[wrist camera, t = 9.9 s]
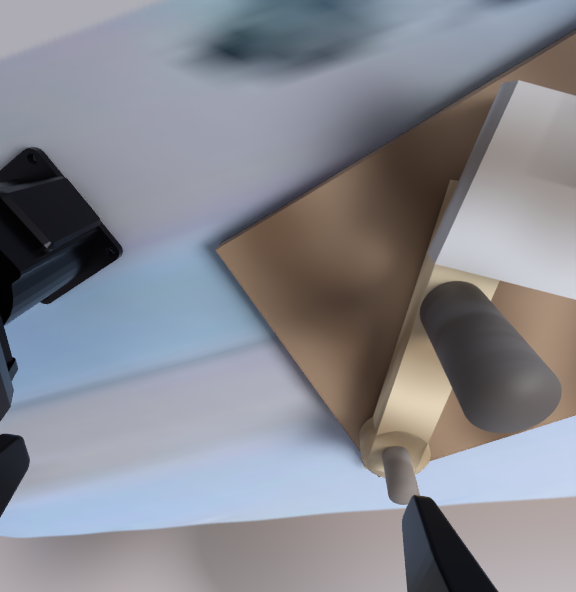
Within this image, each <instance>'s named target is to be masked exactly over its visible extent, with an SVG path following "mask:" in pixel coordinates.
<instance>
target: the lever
mask: <svg viewBox="0 0 576 592" xmlns="http://www.w3.org/2000/svg"><path fill="white" fill-rule="evenodd" d="M458 182H459V181H456V180H450V182H449V185H448V188H447V192H446V195H445V198H444V201H443V204H442V207H441V210H440V213H439V216H438V219H437V222H436V225H435V228H434V231H433V234H432V237H431V240H430V244H429V247H428V250H429V248H430V246H431V243H432V241H433V239H434V236H435V234H436V232H437V230H438V227H439V225H440V223H441V220H442V218H443V216H444V214H445V211H446V209H447V207H448V205H449V202H450V200H451V198H452V195H453V193H454V191H455V189H456V186H457V184H458ZM428 250H427V252H428ZM499 281H500V280H497V279H493V278H489V277H485V276H481V275H477V274H473V273H469V272H465V271H461V270H458V269H454V268H450V267H446V266H442V265H438V264H435V263H434V262H433V260H432V259H431V258H430V256H429V255H428V253H426V256H425V259H424V262H423V265H422V268H421V271H420V274H419V277H418V280H417V283H416V286H415V289H414V292H413V295H412V299H411V302H410V305H409V308H408V311H407V314H406V317H405V320H404V323H403V326H402V329H401V332H400V335H399V338H398V341H397V344H396V347H395V351H394V354H393V357H392V360H391V363H390V366H389V369H388V372H387V375H386V378H385V381H384V384H383V387H382V390H381V393H380V396H379V399H378V403H377V406H376V409H375V412H374V415H373V417H371V418H370V419H368V420H367V421H366V422H365V423H364V424H363V426H362V427H361V429H360V433H359V439H360V448H361V457H362V461H363V463H364V466H365V469H368V470H369V471H371V472H372V473H374V474H376V475H378V476H381V477H385V478H386V483H387V489H388V495H389V498H390V500H391V501H393V502H394V503H397V504H401V505H406V504H408V503H409V501H410V498H411V497H412V496H413V495H420V494H419V490H418V486H417V482H416V478H415V474H417V473H418V472H420V471H421V470H423V469H424V468H425V467H426V466H427V464H428V463H429V461H430V457H431V451H430V447H429V444H428V443H429V440H430V438H431V436H432V433H433V431H434V429H435V427H436V424H437V422H438V420H439V418H440V415H441V413H442V411H443V408H444V406H445V404H446V402H447V399H448V397H449V395H450V393H451V390H452V389H453V391H454V393H455V395H456V398H457V400H458V402H459V404H460V406H461V408H462V410H463V413H464V415H465V416H466V418H467V419H468V420H469V422H471V423H472V424H473V425H474V426H476V427H478V428H480V429H482V430H485V431H488V432H493V433H513V432H519V431H523V430H526V429H529V428H531V427H533V426H535V425H537V424H539V423H541V422H542V421H544V420H545V419H546V418H548V417H549V416H550V415H551V414H552V413H553V412H554V410H555V409H556V408H557V406H558V404H559V402H560V399H561V394H562V388H561V384H560V381H559V379H558V378H557V376H556V375H555V374H554V373H553V372H552V370H551V369H550V368H549V367H548V366H547V365H546V364H545V362H544V361H543V360H542V359H541V358H540V357H539V356H538V354H537V353H536V352H535V351H534V350H533V349H532V348H531V346H530V345H529V344H528V343H527V342H526V341H525V340H524V338H523V337H522V336H521V335H520V334H519V333H518V332H517V330H516V329H515V328H514V327H513V326H512V325H511V324H510V322H509V321H508V320H507V319H506V318H505V317H504V316H503V315H502V313H501V312H500V311H499V310H498V309H497V308H496V307H495V305H494V304H493V303H492V302H491V300H492V297H493V295H494V293H495V290H496V288H497V286H498V284H499Z"/></svg>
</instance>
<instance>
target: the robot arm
mask: <svg viewBox="0 0 576 592" xmlns="http://www.w3.org/2000/svg"><path fill="white" fill-rule="evenodd" d="M33 154H34V155H35V156H36V158H37V163H36V162H35V161H34V159H33ZM109 247H110V248H112V249H113V250H114V251H115V254H113V253H112V252H110V250H109ZM122 253H123V250H122V247H121V245H120V244H119V243H118V242H117V240H116V239H115V238H114V237H113V235H112V234H111V233H110V232H109V231H108V229H107V228H106V227H105V226H104V225H103V223H102V222H101V221H100V218H99V217H98V216H97V214H96V213H95V212H94V211H93V209H92V208H91V207H90V206H89V205H88V203H87V202H86V201H85V200H84V199H83V197H82V196H81V195H80V194H79V192H78V191H77V190H76V189H75V188H74V186H73V185H72V184H71V183H70V181H69V180H68V179H67V178H65V177H64V176H63V175H62V173H61V172H60V171H59V170H58V169H57V167H56V166H55V165H54V164H53V162H52V161H51V160H50V159H49V158H48V156H47V155H46V154H45V153H44V152H43V151H42V150H41V149H39V148H27V149H25V150H24V151H22V152H21V153H20V154H19V155H18V156H17V157H16V158H14V159H13V160H12V161H11V162H10V163H9V164H8V165H6V166H5V167H4V168H3V169H2V170H1V171H0V421H1V420H2V418H3V417H4V415H5V414H6V413H7V411H8V410H9V408H10V407H11V402H12V397H13V392H14V389H13V386H12V382H11V381H12V379H13V378H14V376H15V374H16V372H17V370H18V366H17V362H16V359H15V358H13V357H12V355H11V351H10V347H9V344H8V340H7V336H6V333H5V329H4V326H5V325H6V324H8V323H9V322H11V321H12V320H14V319H15V318H17V317H18V316H20V315H21V314H23V313H24V312H25V311H27V310H28V309H30V308H31V307H33V306H34V305H36V304H37V303H39V302H41V303H43V304H49V303H51V302H53V301H54V300H56V299H57V298H59V297H60V296H62V295H63V294H65V293H66V292H68V291H69V290H71V289H72V288H74V287H75V286H77V285H78V284H80V283H82V282H83V281H85V280H86V279H88V278H89V277H91V276H92V275H94V274H95V273H97V272H98V271H100V270H101V269H103V268H104V267H106V266H107V265H109V264H110V263H112V262H113V261H115V260H116V259H118V258H119V257H120V256H121V255H122ZM29 463H30V458H29V455H28V452H27V448H26V445H25V442H24V439H23V437H21V436H19V435H12V434H1V435H0V517H1V515H2V514H3V512H4V510H5V508H6V507H7V505H8V503H9V501H10V500H11V498H12V496H13V494H14V493H15V491H16V489H17V487H18V486H19V484H20V482H21V480H22V479H23V477H24V475H25V473H26V472H27V470H28V467H29ZM402 532H403V543H404V556H405V568H406V580H407V592H498V591H497V589H496V588H495V586H494V585H493V584H492V582H491V581H490V579H489V578H488V576H487V575H486V574H485V572H484V571H483V569H482V568H481V567H480V565H479V564H478V562H477V561H476V560H475V558H474V557H473V555H472V554H471V552H470V551H469V550H468V548H467V547H466V545H465V544H464V543H463V541H462V540H461V538H460V537H459V536H458V534H457V533H456V531H455V530H454V529H453V527H452V526H451V524H450V523H449V521H448V520H447V519H446V517H445V516H444V514H443V513H442V512H441V510H440V509H439V507H438V506H437V505H436V503H435V502H434V501H433V500H432V499H431V498H430V497H426V496H419V495H413V496H412V497H411V498H410V501H409V503H408V506H407V508H406V510H405V513H404V516H403V519H402Z"/></svg>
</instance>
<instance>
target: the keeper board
mask: <svg viewBox="0 0 576 592" xmlns="http://www.w3.org/2000/svg"><path fill="white" fill-rule="evenodd" d="M450 180H456V181H459V182H458V184H457V186H456V189H455V191H454V193H453V195H452V198H451V200H450V202H449V205H448V207H447V209H446V211H445V214H444V216H443V218H442V220H441V223H440V225H439V227H438V230H437V232H436V234H435V236H434V239H433V241H432V243H431V246H430V248H429V250H428V247H429V244H430V240H431V237H432V234H433V231H434V228H435V225H436V222H437V219H438V216H439V213H440V210H441V207H442V204H443V201H444V198H445V195H446V192H447V188H448V185H449V182H450ZM427 250H428V252H427ZM216 252H217V253H218V254H219V256H220V257H221V259H222V260H223V261H224V263H225V264H226V266H227V267H228V268H229V270H230V271H231V273H232V274H233V275H234V277H235V278H236V279H237V281H238V282H239V284H240V285H241V286H242V288H243V289H244V291H245V292H246V293H247V295H248V296H249V298H250V299H251V300H252V302H253V303H254V305H255V306H256V307H257V309H258V310H259V311H260V313H261V314H262V316H263V317H264V318H265V320H266V321H267V323H268V324H269V325H270V327H271V328H272V330H273V331H274V332H275V334H276V335H277V337H278V338H279V339H280V341H281V342H282V343H283V345H284V346H285V348H286V349H287V350H288V352H289V353H290V355H291V356H292V357H293V359H294V360H295V362H296V363H297V364H298V366H299V367H300V369H301V370H302V371H303V373H304V374H305V375H306V377H307V378H308V380H309V381H310V382H311V384H312V385H313V387H314V388H315V389H316V391H317V392H318V394H319V395H320V396H321V398H322V399H323V401H324V402H325V403H326V405H327V406H328V407H329V409H330V410H331V412H332V413H333V414H334V416H335V417H336V419H337V420H338V421H339V423H340V424H341V426H342V427H343V428H344V430H345V431H346V433H347V434H348V435H349V437H350V438H351V439H352V441H353V442H354V444H355V445H356V446H357V448H358V449H359V451H360V452H361V448H360V439H359V433H360V429H361V427H362V426H363V424H364V423H365V422H366V421H367V420H368V419H370V418H371V417H373V415H374V412H375V409H376V406H377V403H378V399H379V396H380V393H381V390H382V387H383V384H384V381H385V378H386V375H387V372H388V369H389V366H390V363H391V360H392V357H393V354H394V351H395V347H396V344H397V341H398V338H399V335H400V332H401V329H402V326H403V323H404V320H405V317H406V314H407V311H408V308H409V305H410V302H411V299H412V295H413V292H414V289H415V286H416V283H417V280H418V277H419V274H420V271H421V268H422V265H423V262H424V259H425V256H426V253H428V255H429V256H430V258H431V259H432V260H433V262H434V263H435V264H438V265H442V266H446V267H450V268H454V269H458V270H461V271H465V272H469V273H473V274H477V275H481V276H485V277H489V278H493V279H497V280H500V281H499V284H498V286H497V288H496V290H495V293H494V295H493V297H492V300H491V302H492V303H493V304H494V305H495V307H496V308H497V309H498V310H499V311H500V312H501V313H502V315H503V316H504V317H505V318H506V319H507V320H508V321H509V322H510V324H511V325H512V326H513V327H514V328H515V329H516V330H517V332H518V333H519V334H520V335H521V336H522V337H523V338H524V340H525V341H526V342H527V343H528V344H529V345H530V346H531V348H532V349H533V350H534V351H535V352H536V353H537V354H538V356H539V357H540V358H541V359H542V360H543V361H544V362H545V364H546V365H547V366H548V367H549V368H550V369H551V370H552V372H553V373H554V374H555V375H556V376H557V378H558V379H559V381H560V384H561V388H562V394H561V399H560V402H559V404H558V406H557V408H556V409H555V410H554V412H553V413H552V414H551V415H550V416H549V417H548V418H546V419H545V420H544V421H542V422H541V423H539V424H537V425H535V426H533V427H531V428H529V429H526V430H523V431H519V432H513V433H493V432H488V431H485V430H482V429H480V428H478V427H476V426H474V425H473V424H472V423H471V422H469V420H468V419H467V418H466V416H465V415H464V413H463V410H462V408H461V406H460V404H459V402H458V400H457V398H456V395H455V393H454V391H453V389H452V390H451V393H450V395H449V397H448V399H447V402H446V404H445V406H444V408H443V411H442V413H441V415H440V418H439V420H438V422H437V424H436V427H435V429H434V431H433V433H432V436H431V438H430V440H429V443H428V444H429V447H430V451H431V457H430V461H432V460H435V459H438V458H441V457H445V456H448V455H451V454H454V453H457V452H460V451H464V450H467V449H470V448H473V447H476V446H480V445H483V444H486V443H489V442H492V441H495V440H499V439H502V438H505V437H508V436H511V435H515V434H518V433H521V432H524V431H527V430H530V429H534V428H537V427H540V426H543V425H546V424H550V423H553V422H556V421H559V420H562V419H565V418H569V417H572V416H575V415H576V29H575V30H573V31H572V32H570V33H568V34H567V35H565V36H564V37H562V38H560V39H559V40H557V41H555V42H554V43H552V44H550V45H549V46H547V47H545V48H544V49H542V50H540V51H539V52H537V53H535V54H534V55H532V56H530V57H529V58H527V59H525V60H524V61H522V62H520V63H519V64H517V65H516V66H514V67H512V68H511V69H509V70H507V71H506V72H504V73H502V74H501V75H499V76H497V77H496V78H494V79H492V80H491V81H489V82H487V83H486V84H484V85H482V86H481V87H479V88H477V89H476V90H474V91H472V92H471V93H469V94H468V95H466V96H464V97H463V98H461V99H459V100H458V101H456V102H454V103H453V104H451V105H449V106H448V107H446V108H444V109H443V110H441V111H439V112H438V113H436V114H434V115H433V116H431V117H429V118H428V119H426V120H425V121H423V122H421V123H420V124H418V125H416V126H415V127H413V128H411V129H410V130H408V131H406V132H405V133H403V134H401V135H400V136H398V137H396V138H395V139H393V140H391V141H390V142H388V143H386V144H385V145H383V146H381V147H380V148H378V149H377V150H375V151H373V152H372V153H370V154H368V155H367V156H365V157H363V158H362V159H360V160H358V161H357V162H355V163H353V164H352V165H350V166H348V167H347V168H345V169H343V170H342V171H340V172H338V173H337V174H335V175H333V176H332V177H330V178H329V179H327V180H325V181H324V182H322V183H320V184H319V185H317V186H315V187H314V188H312V189H310V190H309V191H307V192H305V193H304V194H302V195H300V196H299V197H297V198H295V199H294V200H292V201H290V202H289V203H287V204H285V205H284V206H282V207H281V208H279V209H277V210H276V211H274V212H272V213H271V214H269V215H267V216H266V217H264V218H262V219H261V220H259V221H257V222H256V223H254V224H252V225H251V226H249V227H247V228H246V229H244V230H242V231H241V232H239V233H237V234H236V235H234V236H233V237H231V238H229V239H228V240H226V241H224V242H223V243H221V244H220V245H219V246H218V248H217V249H216ZM377 476H378V475H377ZM378 477H381V476H378Z"/></svg>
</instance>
